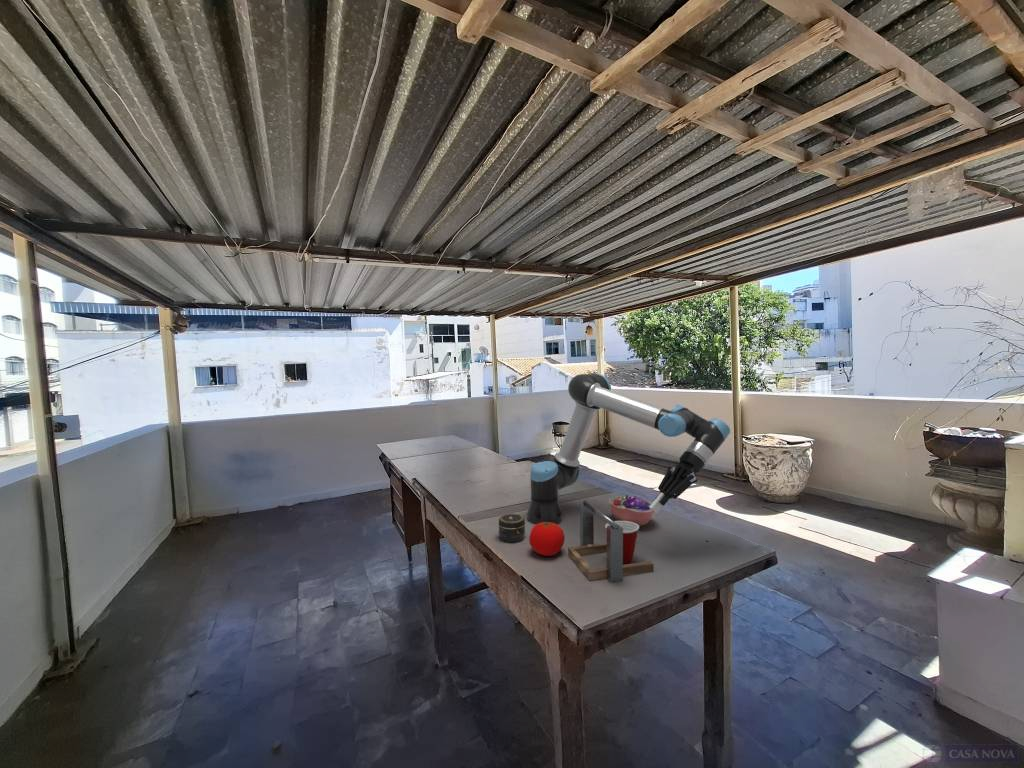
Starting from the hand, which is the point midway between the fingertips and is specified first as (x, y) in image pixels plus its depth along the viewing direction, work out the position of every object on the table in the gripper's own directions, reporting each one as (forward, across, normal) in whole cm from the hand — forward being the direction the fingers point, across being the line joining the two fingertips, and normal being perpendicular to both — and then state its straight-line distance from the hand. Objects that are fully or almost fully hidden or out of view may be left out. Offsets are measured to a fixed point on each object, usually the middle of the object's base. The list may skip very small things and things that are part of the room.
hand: (652, 510), depth 130 cm
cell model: (+5, +28, -18) cm, 34 cm away
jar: (+41, +28, +19) cm, 53 cm away
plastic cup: (+19, 0, -3) cm, 20 cm away
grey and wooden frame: (+23, +1, 0) cm, 23 cm away
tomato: (+35, +12, +12) cm, 39 cm away
